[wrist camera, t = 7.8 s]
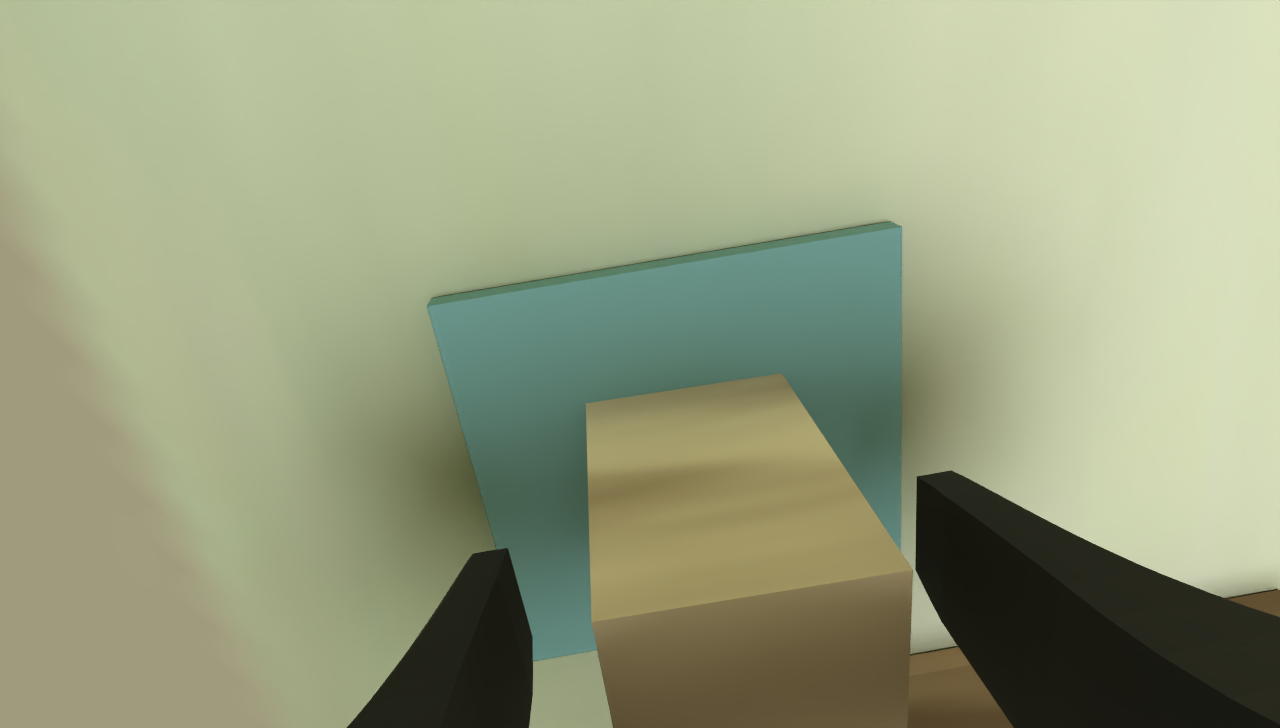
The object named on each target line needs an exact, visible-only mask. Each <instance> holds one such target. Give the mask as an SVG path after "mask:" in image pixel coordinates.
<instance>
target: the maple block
mask: <svg viewBox="0 0 1280 728" xmlns="http://www.w3.org/2000/svg"><path fill="white" fill-rule="evenodd" d="M586 431H587V469H588V507H589V545H590V582H591V620H592V627H593V632H594V636H595V641H596V646H597V651H598V656H599V661H600V665H601V670H602V675H603V680H604V685H605V690H606V694H607V699H608V704H609V709H610V714H611V719H612V723H613V728H907V722H908V693H909V664H910V636H911V607H912V578H913V570H912V568H911V567H910V565H909V564H908V562H907V561H906V559H905V558H904V556H903V555H902V553H901V552H900V550H899V549H898V547H897V546H896V544H895V542H894V541H893V539H892V538H891V536H890V535H889V533H888V532H887V530H886V529H885V527H884V526H883V524H882V523H881V521H880V520H879V518H878V517H877V515H876V514H875V512H874V511H873V509H872V508H871V506H870V505H869V503H868V502H867V500H866V499H865V497H864V496H863V494H862V493H861V491H860V490H859V488H858V487H857V485H856V484H855V482H854V481H853V479H852V478H851V476H850V475H849V473H848V472H847V470H846V469H845V467H844V466H843V464H842V463H841V461H840V460H839V458H838V457H837V455H836V454H835V452H834V451H833V449H832V448H831V446H830V445H829V443H828V442H827V440H826V439H825V437H824V436H823V434H822V433H821V431H820V430H819V428H818V427H817V425H816V424H815V422H814V421H813V419H812V418H811V416H810V415H809V413H808V412H807V410H806V409H805V407H804V406H803V404H802V403H801V401H800V400H799V398H798V397H797V395H796V394H795V392H794V391H793V389H792V388H791V386H790V385H789V383H788V382H787V380H786V379H785V377H784V376H783V374H782V373H780V374H773V375H767V376H760V377H754V378H748V379H741V380H735V381H728V382H722V383H715V384H709V385H702V386H696V387H689V388H683V389H676V390H670V391H663V392H657V393H650V394H644V395H637V396H631V397H625V398H618V399H612V400H605V401H599V402H592V403H586Z"/></svg>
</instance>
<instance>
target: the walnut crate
mask: <svg viewBox="0 0 1280 728" xmlns="http://www.w3.org/2000/svg"><path fill="white" fill-rule="evenodd" d="M1227 600H1230V601H1233V602H1236V603H1239V604H1242V605H1244V606H1247V607H1250V608H1254V609H1257V610H1260V611H1263V612H1266V613H1269V614H1272V615H1275V616H1278V617H1280V590H1275V591H1269V592H1263V593H1258V594H1252V595H1247V596H1241V597H1235V598H1230V599H1227ZM907 728H1013V726H1012V725H1011V723H1010V722H1009V720H1008V719H1007V717H1006V716H1005V714H1004V713H1003V711H1002V710H1001V709H1000V707H999V706H998V704H997V703H996V701H995V700H994V698H993V697H992V695H991V694H990V692H989V691H988V689H987V688H986V687H985V685H984V684H983V682H982V681H981V679H980V678H979V676H978V675H977V673H976V672H975V670H974V669H973V668H972V666H971V665H970V663H969V662H968V660H967V659H966V657H965V656H964V654H963V653H962V651H961V650H960V648H959V647H955V648H950V649H944V650H939V651H933V652H927V653H922V654H916V655H911V656H910V664H909V693H908V722H907Z"/></svg>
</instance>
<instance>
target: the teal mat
mask: <svg viewBox="0 0 1280 728" xmlns="http://www.w3.org/2000/svg"><path fill="white" fill-rule="evenodd" d="M901 288H902V227H901V226H899V225H897V224H895V223H893V222H885V223H879V224H873V225H867V226H861V227H855V228H849V229H843V230H837V231H831V232H825V233H819V234H813V235H807V236H801V237H795V238H789V239H783V240H777V241H771V242H765V243H759V244H753V245H747V246H741V247H735V248H729V249H723V250H717V251H711V252H705V253H699V254H693V255H687V256H681V257H675V258H669V259H663V260H657V261H651V262H645V263H639V264H633V265H627V266H621V267H615V268H609V269H603V270H598V271H592V272H586V273H580V274H574V275H568V276H562V277H556V278H550V279H544V280H538V281H532V282H526V283H520V284H514V285H508V286H502V287H496V288H490V289H484V290H478V291H472V292H466V293H460V294H454V295H448V296H442V297H436V298H432V299H431V301H430V302H429V304H428V305H427V308H428V312H429V315H430V319H431V322H432V326H433V329H434V333H435V336H436V340H437V343H438V347H439V350H440V354H441V357H442V361H443V364H444V368H445V371H446V375H447V378H448V382H449V385H450V389H451V392H452V396H453V399H454V403H455V406H456V410H457V413H458V417H459V420H460V424H461V427H462V431H463V434H464V438H465V441H466V445H467V448H468V452H469V455H470V459H471V462H472V465H473V469H474V472H475V476H476V479H477V483H478V486H479V490H480V493H481V497H482V500H483V504H484V507H485V511H486V514H487V518H488V521H489V525H490V528H491V532H492V535H493V539H494V542H495V546H496V549H497V550H498V549H503V548H508V550H509V554H510V557H511V561H512V565H513V568H514V572H515V575H516V579H517V583H518V586H519V590H520V593H521V597H522V601H523V604H524V608H525V611H526V615H527V618H528V622H529V626H530V629H531V633H532V636H533V661H538V660H543V659H549V658H555V657H560V656H566V655H572V654H577V653H583V652H589V651H594V650H597V646H596V641H595V636H594V632H593V627H592V620H591V582H590V545H589V507H588V469H587V431H586V403H592V402H599V401H605V400H612V399H618V398H625V397H631V396H637V395H644V394H650V393H657V392H663V391H670V390H676V389H683V388H689V387H696V386H702V385H709V384H715V383H722V382H728V381H735V380H741V379H748V378H754V377H760V376H767V375H773V374H780V373H782V374H783V376H784V377H785V379H786V380H787V382H788V383H789V385H790V386H791V388H792V389H793V391H794V392H795V394H796V395H797V397H798V398H799V400H800V401H801V403H802V404H803V406H804V407H805V409H806V410H807V412H808V413H809V415H810V416H811V418H812V419H813V421H814V422H815V424H816V425H817V427H818V428H819V430H820V431H821V433H822V434H823V436H824V437H825V439H826V440H827V442H828V443H829V445H830V446H831V448H832V449H833V451H834V452H835V454H836V455H837V457H838V458H839V460H840V461H841V463H842V464H843V466H844V467H845V469H846V470H847V472H848V473H849V475H850V476H851V478H852V479H853V481H854V482H855V484H856V485H857V487H858V488H859V490H860V491H861V493H862V494H863V496H864V497H865V499H866V500H867V502H868V503H869V505H870V506H871V508H872V509H873V511H874V512H875V514H876V515H877V517H878V518H879V520H880V521H881V523H882V524H883V526H884V527H885V529H886V530H887V532H888V533H889V535H890V536H891V538H892V539H893V541H894V542H895V544H896V546H897V547H898V549H899V550H900V535H901Z"/></svg>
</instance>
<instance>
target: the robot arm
mask: <svg viewBox="0 0 1280 728" xmlns="http://www.w3.org/2000/svg"><path fill="white" fill-rule="evenodd" d="M916 572H917V574H918V576H919V578H920V580H921V582H922V584H923V586H924V588H925V590H926V592H927V594H928V596H929V598H930V600H931V602H932V604H933V606H934V608H935V610H936V611H937V613H938V615H939V617H940V619H941V621H942V623H943V624H944V626H945V627H946V629H947V630H948V632H949V633H950V635H951V636H952V638H953V639H954V641H955V642H956V644H957V645H958V647H959V648H960V650H961V651H962V653H963V654H964V656H965V657H966V659H967V660H968V662H969V663H970V665H971V666H972V668H973V669H974V670H975V672H976V673H977V675H978V676H979V678H980V679H981V681H982V682H983V684H984V685H985V687H986V688H987V689H988V691H989V692H990V694H991V695H992V697H993V698H994V700H995V701H996V703H997V704H998V706H999V707H1000V709H1001V710H1002V711H1003V713H1004V714H1005V716H1006V717H1007V719H1008V720H1009V722H1010V723H1011V725H1012V726H1013V728H1280V617H1278V616H1275V615H1272V614H1269V613H1266V612H1263V611H1260V610H1257V609H1254V608H1250V607H1247V606H1244V605H1242V604H1239V603H1236V602H1233V601H1230V600H1227V599H1225V598H1222V597H1219V596H1216V595H1214V594H1211V593H1208V592H1206V591H1203V590H1201V589H1198V588H1195V587H1193V586H1190V585H1188V584H1185V583H1183V582H1180V581H1177V580H1175V579H1172V578H1170V577H1167V576H1165V575H1162V574H1160V573H1157V572H1155V571H1153V570H1150V569H1148V568H1146V567H1143V566H1141V565H1139V564H1136V563H1134V562H1132V561H1130V560H1128V559H1125V558H1123V557H1121V556H1119V555H1117V554H1114V553H1112V552H1110V551H1108V550H1106V549H1104V548H1101V547H1099V546H1097V545H1095V544H1093V543H1091V542H1089V541H1087V540H1085V539H1083V538H1081V537H1078V536H1076V535H1074V534H1072V533H1070V532H1068V531H1066V530H1064V529H1062V528H1060V527H1058V526H1057V525H1055V524H1053V523H1051V522H1049V521H1047V520H1045V519H1043V518H1041V517H1039V516H1037V515H1035V514H1033V513H1032V512H1030V511H1028V510H1026V509H1024V508H1022V507H1020V506H1018V505H1017V504H1015V503H1013V502H1011V501H1009V500H1007V499H1005V498H1003V497H1002V496H1000V495H998V494H996V493H994V492H992V491H990V490H989V489H987V488H985V487H983V486H981V485H979V484H977V483H975V482H973V481H972V480H970V479H968V478H966V477H964V476H962V475H960V474H957V473H955V472H953V471H946V472H940V473H935V474H929V475H923V476H917V504H916ZM532 695H533V636H532V633H531V629H530V626H529V622H528V618H527V615H526V611H525V608H524V604H523V601H522V597H521V593H520V590H519V586H518V583H517V579H516V575H515V572H514V568H513V565H512V561H511V557H510V554H509V550H508V548H503V549H498V550H492V551H486V552H480V553H475V554H472V556H471V557H470V558H469V560H468V561H467V563H466V564H465V566H464V567H463V569H462V570H461V572H460V573H459V575H458V577H457V578H456V580H455V581H454V583H453V584H452V586H451V588H450V589H449V591H448V592H447V594H446V595H445V597H444V598H443V600H442V601H441V603H440V605H439V606H438V608H437V609H436V611H435V612H434V614H433V615H432V617H431V618H430V620H429V621H428V622H427V624H426V625H425V627H424V628H423V630H422V631H421V633H420V634H419V636H418V637H417V638H416V640H415V641H414V643H413V644H412V646H411V647H410V648H409V650H408V651H407V653H406V654H405V655H404V657H403V658H402V659H401V661H400V662H399V663H398V665H397V666H396V667H395V669H394V670H393V671H392V673H391V674H390V675H389V676H388V678H387V679H386V680H385V682H384V683H383V684H382V686H381V687H380V688H379V690H378V691H377V692H376V694H375V695H374V696H373V697H372V699H371V700H370V701H369V702H368V703H367V705H366V706H365V707H364V708H363V709H362V711H361V712H360V713H359V714H358V715H357V717H356V718H355V719H354V720H353V721H352V722H351V724H350V725H349V726H348V727H347V728H529V721H530V713H531V704H532Z"/></svg>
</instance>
